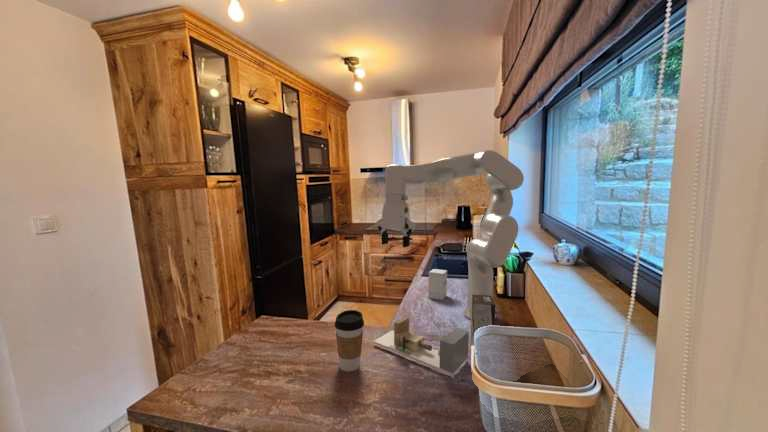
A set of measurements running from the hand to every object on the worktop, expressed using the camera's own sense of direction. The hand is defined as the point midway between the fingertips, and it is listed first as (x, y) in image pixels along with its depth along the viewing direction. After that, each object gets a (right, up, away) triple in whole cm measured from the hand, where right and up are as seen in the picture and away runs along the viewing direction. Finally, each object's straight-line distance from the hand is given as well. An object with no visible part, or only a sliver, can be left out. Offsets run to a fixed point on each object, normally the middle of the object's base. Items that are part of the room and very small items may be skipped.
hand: (395, 245), depth 112 cm
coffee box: (+27, -32, -14) cm, 44 cm away
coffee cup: (-14, -33, -25) cm, 43 cm away
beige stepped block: (+5, -30, -18) cm, 35 cm away
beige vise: (+7, -32, -18) cm, 37 cm away
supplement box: (+21, -28, +33) cm, 48 cm away
